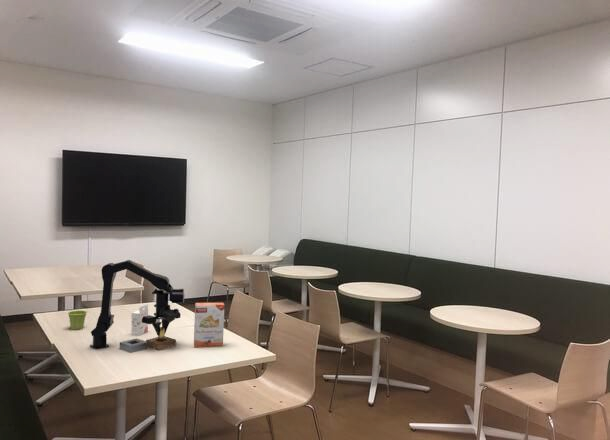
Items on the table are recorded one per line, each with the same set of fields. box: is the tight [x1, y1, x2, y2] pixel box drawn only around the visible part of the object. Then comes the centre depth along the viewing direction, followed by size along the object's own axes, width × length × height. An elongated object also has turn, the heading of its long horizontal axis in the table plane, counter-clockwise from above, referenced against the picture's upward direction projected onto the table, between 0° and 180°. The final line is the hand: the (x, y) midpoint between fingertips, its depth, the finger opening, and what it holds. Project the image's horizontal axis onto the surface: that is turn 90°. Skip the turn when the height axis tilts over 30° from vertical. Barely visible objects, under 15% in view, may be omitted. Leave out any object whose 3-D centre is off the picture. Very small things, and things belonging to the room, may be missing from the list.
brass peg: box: [157, 326, 166, 342], centre depth 228 cm, size 3×3×8 cm
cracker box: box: [193, 302, 225, 348], centre depth 232 cm, size 14×6×21 cm, turn 105°
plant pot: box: [67, 310, 88, 331], centre depth 253 cm, size 9×9×9 cm
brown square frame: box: [145, 335, 177, 351], centre depth 228 cm, size 10×10×3 cm
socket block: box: [119, 337, 149, 354], centre depth 223 cm, size 9×9×3 cm
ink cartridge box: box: [130, 304, 149, 336], centre depth 248 cm, size 9×5×15 cm, turn 168°
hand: (161, 334), depth 228 cm, fingers closed on brass peg, 3 cm apart
